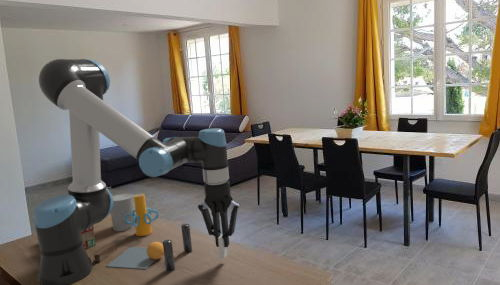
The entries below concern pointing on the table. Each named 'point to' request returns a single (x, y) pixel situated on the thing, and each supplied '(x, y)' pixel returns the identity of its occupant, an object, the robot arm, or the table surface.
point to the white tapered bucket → (122, 211)
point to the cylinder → (141, 216)
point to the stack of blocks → (88, 237)
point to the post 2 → (186, 238)
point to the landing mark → (133, 259)
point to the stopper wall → (105, 252)
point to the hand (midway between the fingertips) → (223, 256)
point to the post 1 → (168, 255)
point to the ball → (155, 250)
